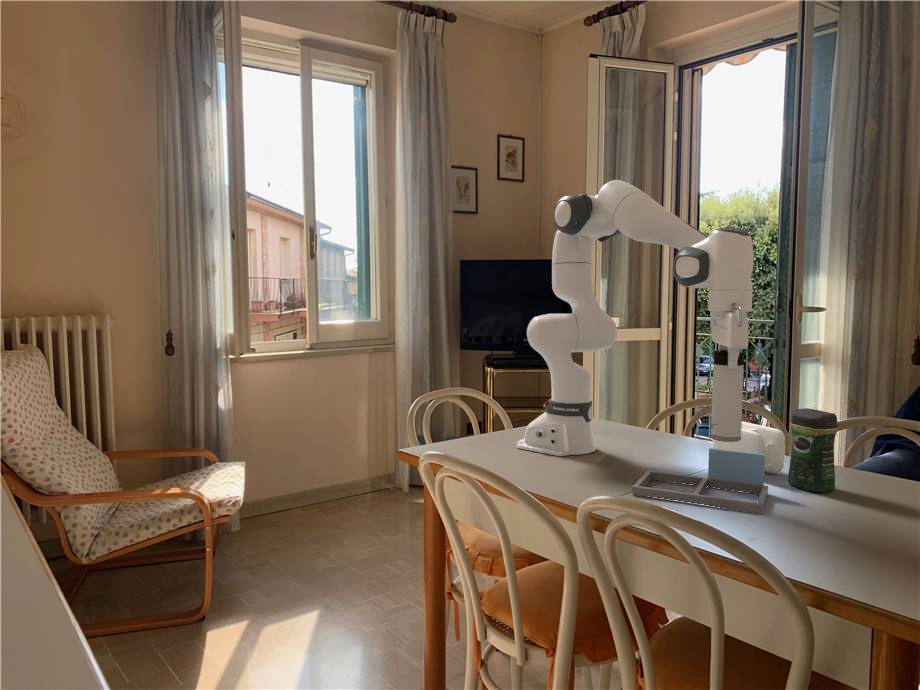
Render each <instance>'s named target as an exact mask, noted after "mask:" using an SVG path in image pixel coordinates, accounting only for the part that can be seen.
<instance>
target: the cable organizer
mask: <svg viewBox="0 0 920 690" xmlns="http://www.w3.org/2000/svg"><path fill="white" fill-rule="evenodd" d="M785 445H786V435H785V433H784V432H783V431H782V430H781V429H778V428H775V427H770V426H765V425H761V424H756V423H751V422H747V421H742V425H741V440H740V441H737V442H723V441H717V440H714V439H712V445H711V446H712V447H711V448H715V449H724V450H733V451H742V452H751V453H760V454H765V468H764V471H766V472H765V473H767V472H769V473H768V474H771V473H773V474H775V473H778V472H779V473H780V472H782V470H784V466H785V448H786V447H785Z"/></svg>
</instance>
